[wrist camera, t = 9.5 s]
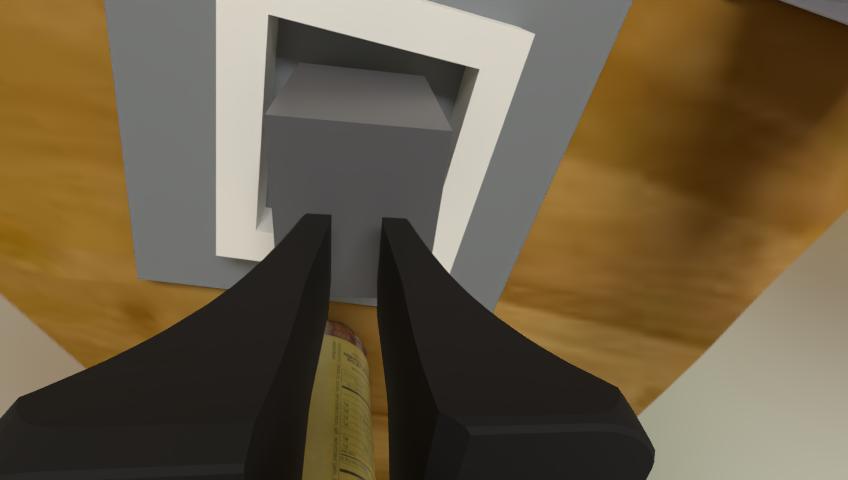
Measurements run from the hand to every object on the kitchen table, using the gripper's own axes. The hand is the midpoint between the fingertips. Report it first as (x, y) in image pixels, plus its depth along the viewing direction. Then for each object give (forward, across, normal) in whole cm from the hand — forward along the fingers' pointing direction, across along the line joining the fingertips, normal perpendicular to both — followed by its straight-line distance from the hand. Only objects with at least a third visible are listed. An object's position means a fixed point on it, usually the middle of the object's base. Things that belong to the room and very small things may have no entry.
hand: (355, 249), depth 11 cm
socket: (+9, 0, 0) cm, 9 cm away
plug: (+8, 0, 0) cm, 8 cm away
